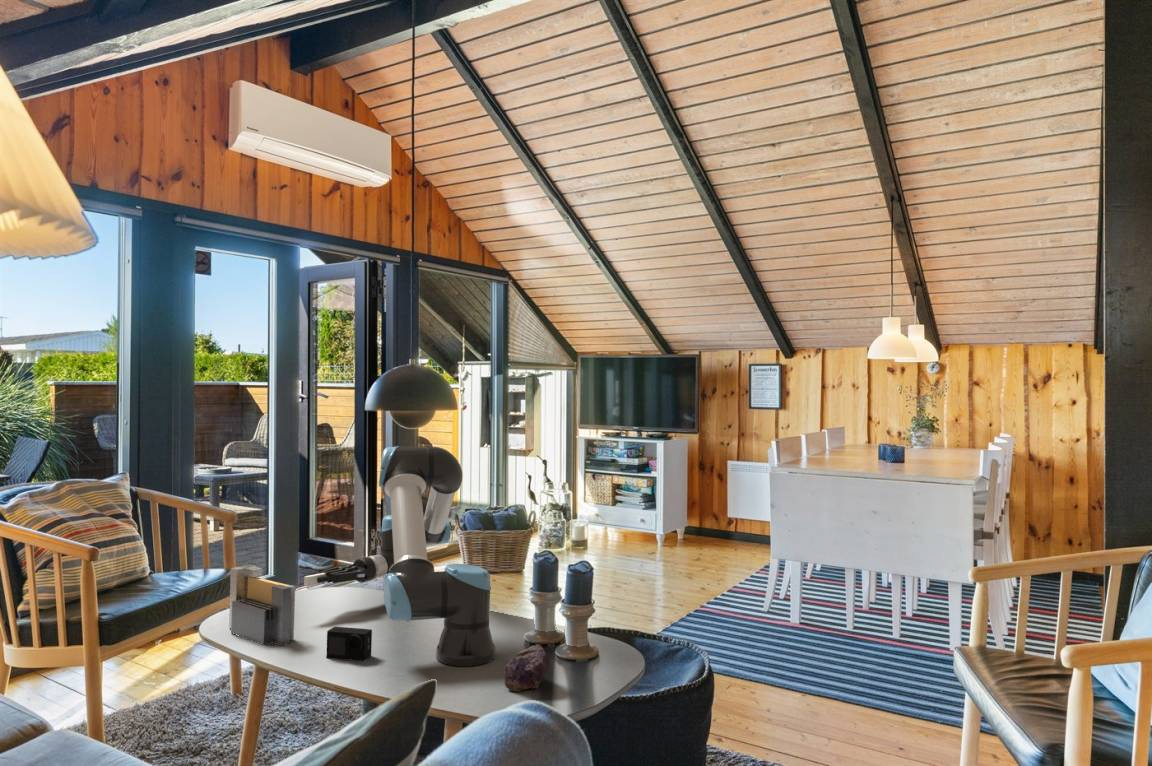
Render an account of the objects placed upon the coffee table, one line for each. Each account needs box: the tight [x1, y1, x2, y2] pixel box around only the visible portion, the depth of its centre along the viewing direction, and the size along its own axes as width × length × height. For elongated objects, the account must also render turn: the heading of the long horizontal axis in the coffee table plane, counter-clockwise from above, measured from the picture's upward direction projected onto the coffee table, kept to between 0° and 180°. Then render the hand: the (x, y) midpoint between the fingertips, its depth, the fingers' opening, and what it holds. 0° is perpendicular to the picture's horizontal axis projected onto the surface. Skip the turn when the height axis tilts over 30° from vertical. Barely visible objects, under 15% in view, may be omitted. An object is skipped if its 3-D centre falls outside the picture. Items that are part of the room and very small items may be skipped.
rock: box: [504, 644, 551, 692], centre depth 185 cm, size 12×9×10 cm
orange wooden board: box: [247, 576, 296, 641], centre depth 219 cm, size 19×2×14 cm, turn 56°
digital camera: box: [326, 626, 373, 662], centre depth 201 cm, size 10×5×7 cm, turn 80°
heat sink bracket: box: [228, 564, 291, 646], centre depth 218 cm, size 24×8×17 cm, turn 55°
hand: (305, 581), depth 230 cm, fingers closed
